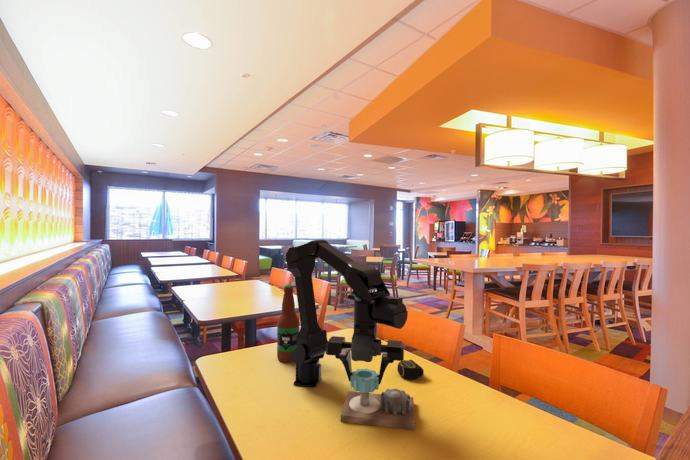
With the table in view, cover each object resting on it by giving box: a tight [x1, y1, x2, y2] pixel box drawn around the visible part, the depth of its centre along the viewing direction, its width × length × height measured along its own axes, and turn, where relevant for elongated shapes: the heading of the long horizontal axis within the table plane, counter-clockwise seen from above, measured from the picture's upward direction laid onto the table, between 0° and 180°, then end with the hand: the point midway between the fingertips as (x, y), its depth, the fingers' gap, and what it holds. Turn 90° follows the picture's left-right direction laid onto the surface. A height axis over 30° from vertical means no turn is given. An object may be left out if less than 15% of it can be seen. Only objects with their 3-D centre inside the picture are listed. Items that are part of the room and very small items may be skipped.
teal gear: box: [350, 368, 380, 393], centre depth 79 cm, size 7×7×3 cm
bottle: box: [276, 284, 300, 363], centre depth 109 cm, size 7×7×25 cm
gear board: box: [340, 388, 416, 431], centre depth 79 cm, size 17×11×5 cm, turn 80°
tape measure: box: [397, 359, 424, 380], centre depth 98 cm, size 7×7×4 cm
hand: (364, 382), depth 79 cm, fingers closed on teal gear, 7 cm apart
